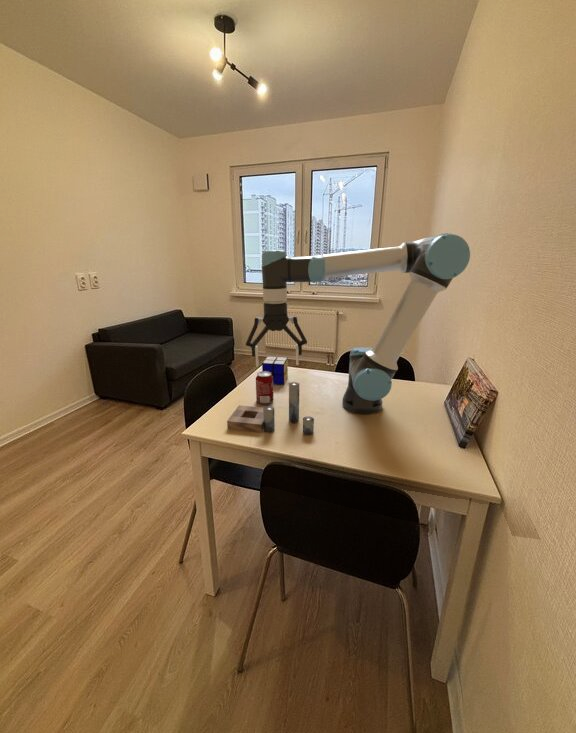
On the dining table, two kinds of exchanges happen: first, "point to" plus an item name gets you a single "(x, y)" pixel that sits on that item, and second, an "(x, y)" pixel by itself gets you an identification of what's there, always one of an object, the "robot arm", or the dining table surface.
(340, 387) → the dining table surface
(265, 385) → the soda can
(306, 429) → the short pin
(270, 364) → the puzzle cube
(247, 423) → the hole block
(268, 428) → the medium pin
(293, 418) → the long pin
